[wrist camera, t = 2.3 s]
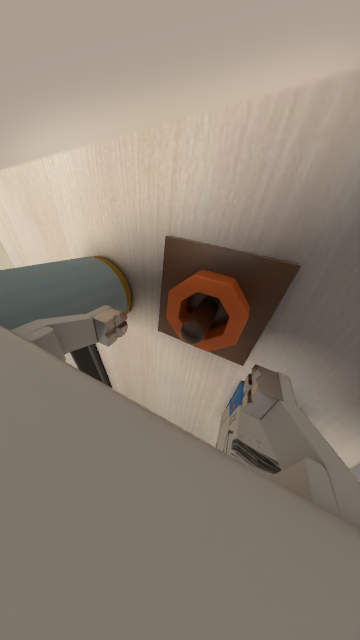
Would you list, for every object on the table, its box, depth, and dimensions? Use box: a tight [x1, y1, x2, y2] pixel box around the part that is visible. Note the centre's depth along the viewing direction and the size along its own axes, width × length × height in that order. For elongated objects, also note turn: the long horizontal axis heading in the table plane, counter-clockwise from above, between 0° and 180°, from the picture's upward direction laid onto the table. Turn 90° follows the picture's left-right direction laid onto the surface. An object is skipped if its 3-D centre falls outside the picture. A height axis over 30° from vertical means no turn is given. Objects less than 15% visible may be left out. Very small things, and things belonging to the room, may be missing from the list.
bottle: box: [0, 256, 131, 355], centre depth 11 cm, size 7×7×15 cm
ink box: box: [216, 382, 282, 478], centre depth 13 cm, size 9×5×12 cm, turn 173°
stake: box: [158, 236, 301, 366], centre depth 11 cm, size 9×9×5 cm
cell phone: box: [70, 344, 111, 388], centre depth 28 cm, size 7×14×1 cm, turn 2°
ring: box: [166, 270, 250, 352], centre depth 12 cm, size 6×6×2 cm
